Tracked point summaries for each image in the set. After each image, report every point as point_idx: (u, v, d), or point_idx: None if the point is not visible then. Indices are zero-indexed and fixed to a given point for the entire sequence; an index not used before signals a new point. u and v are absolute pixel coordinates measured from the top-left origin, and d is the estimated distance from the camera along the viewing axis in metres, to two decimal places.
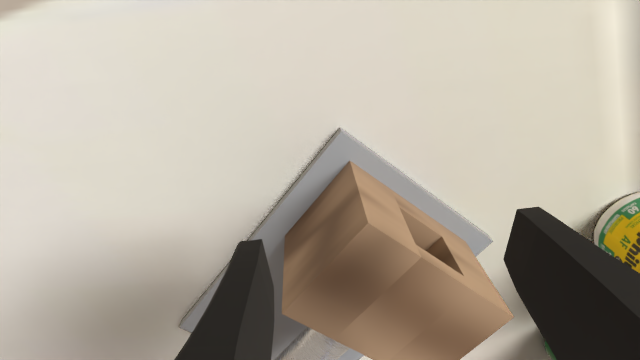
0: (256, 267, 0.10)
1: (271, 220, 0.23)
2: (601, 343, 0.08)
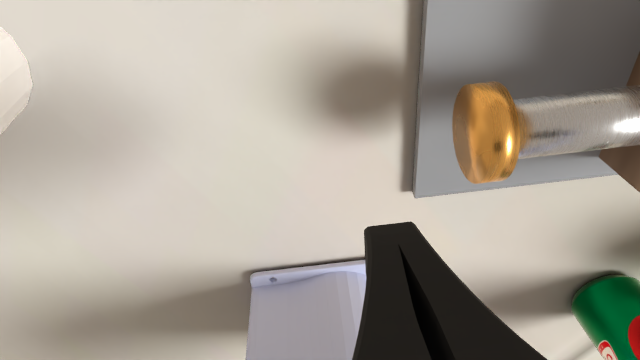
0: (399, 250, 0.10)
1: None
2: None
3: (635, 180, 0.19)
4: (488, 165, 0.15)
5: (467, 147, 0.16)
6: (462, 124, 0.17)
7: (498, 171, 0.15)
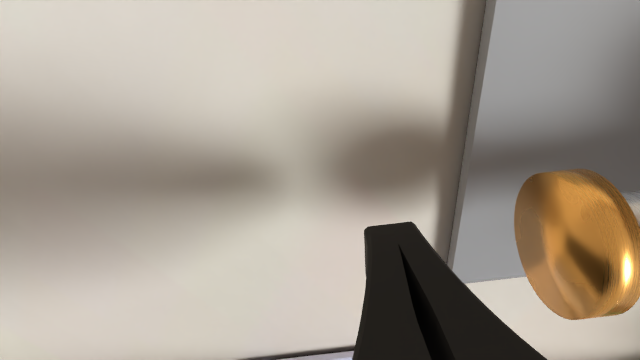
0: (399, 250, 0.10)
1: None
2: None
3: None
4: (589, 306, 0.10)
5: (545, 258, 0.11)
6: (535, 222, 0.12)
7: (603, 313, 0.10)
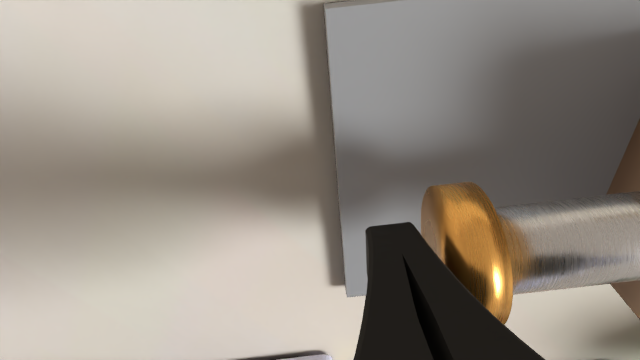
0: (400, 250, 0.10)
1: None
2: None
3: (629, 296, 0.14)
4: None
5: None
6: (431, 234, 0.12)
7: None
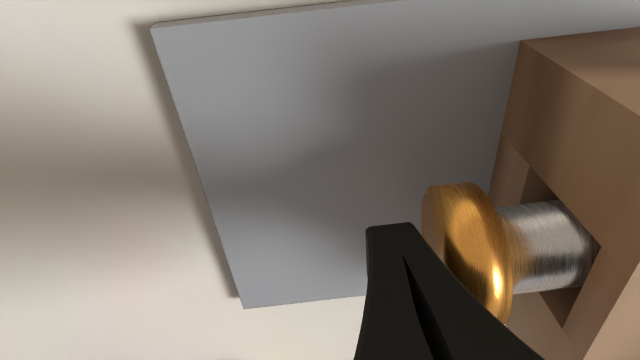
0: (400, 250, 0.10)
1: None
2: None
3: None
4: None
5: None
6: (431, 234, 0.12)
7: None
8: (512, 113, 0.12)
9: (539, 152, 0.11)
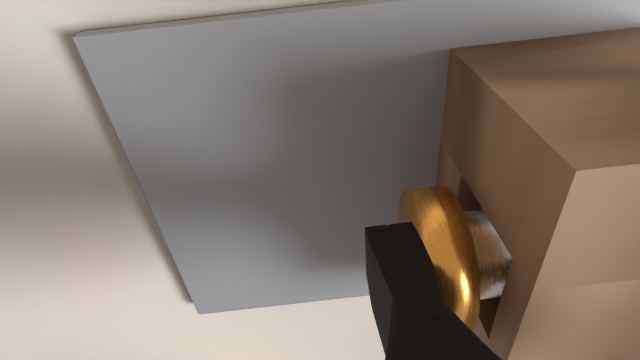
0: (424, 248, 0.10)
1: (472, 0, 0.10)
2: None
3: None
4: None
5: None
6: None
7: None
8: (447, 121, 0.12)
9: (467, 161, 0.11)
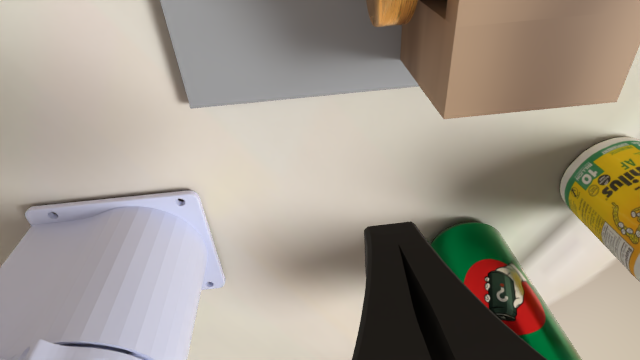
0: (399, 250, 0.10)
1: None
2: None
3: (416, 72, 0.16)
4: None
5: None
6: None
7: None
8: None
9: None
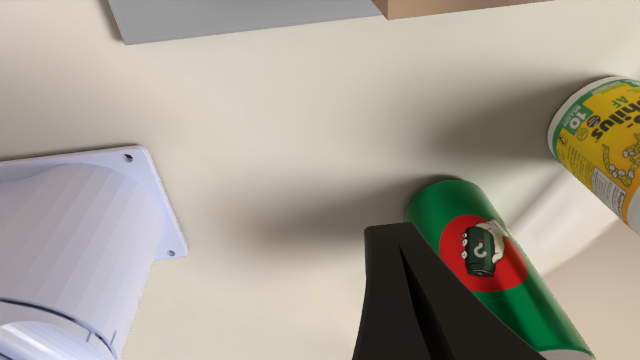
0: (399, 250, 0.10)
1: None
2: None
3: None
4: None
5: None
6: None
7: None
8: None
9: None
